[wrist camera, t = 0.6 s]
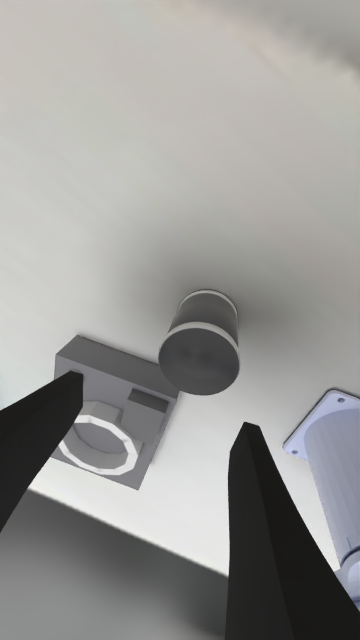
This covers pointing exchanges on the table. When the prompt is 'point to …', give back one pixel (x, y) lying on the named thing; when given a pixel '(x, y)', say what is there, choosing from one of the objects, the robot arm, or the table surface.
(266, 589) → the robot arm
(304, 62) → the table surface
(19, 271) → the table surface
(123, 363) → the camera body
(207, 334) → the lens
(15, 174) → the table surface
